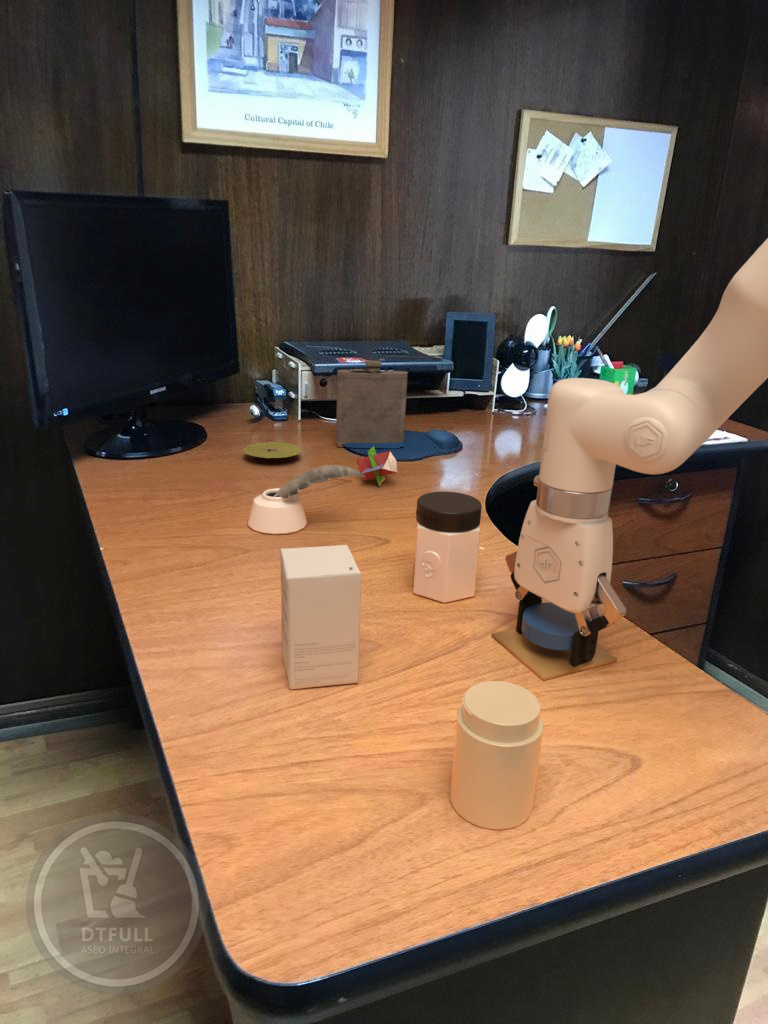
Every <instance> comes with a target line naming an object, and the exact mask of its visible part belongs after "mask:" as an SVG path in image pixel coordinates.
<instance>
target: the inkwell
mask: <svg viewBox="0 0 768 1024" xmlns="http://www.w3.org/2000/svg"><path fill="white" fill-rule="evenodd" d="M342 477H360V478H362V477H365V476H364V475H363V474H362V473H361V472H360V470H357V469H355V468H353V467H350V466H346V465H337V464H326V465H322V466H319V467H313V468H312V469H309V470H307V471H305V472H302V473H300V474H299V475H296V476H295V477H293V478H292V479H290V480H289V481H288V482H286V483H285V484H283V486H281V487H276V488H275V487H274V488H268V489H265V490H264V491H263V492H262V493H261V494H258V495H256V496H255V497H254V498H253V500H252V503H251V507H250V510H249V514H248V517H247V526H248V527H249V528H250V529H251V530H252V531H254V532H257V533H261V534H266V535H288V534H292V533H297V532H299V531H301V530H303V529H305V527H306V526H307V525H308V519H307V515H306V512H305V509H304V506H303V501H302V500H301V499H302V498H301V497H300V496H299V495H298V494H300V493H301V490H305V489H307V488H309V487H310V486H312V484H320V483H325V482H328V481H330V479H338V478H342Z"/></svg>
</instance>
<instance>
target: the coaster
mask: <svg viewBox="0 0 768 1024" xmlns="http://www.w3.org/2000/svg"><path fill="white" fill-rule="evenodd" d="M490 636H491V638H492V639H494V640H495V641H496V642H497V643H498V644H500V645H501V646H502V647H503V648H504V649H506V650H507V651H508V652H509V653H510V654H512V655H513V656H514V657H515V658H516V659H517V660H519V662H521V663H522V664H523V666H524V665H525V666H526V667H527V669H529V670H530V671H531V672H532V673H534V674H535V675H536V676H537V677H538V678H540V680H542V681H543V682H544V681H547V680H551V679H557V678H560V677H564V676H567V675H571V674H575V673H579V672H584V671H587V670H590V669H594V668H599V667H602V666H606V665H611V664H614V663H617V662H618V658H617V657H616V656H614V654H611V653H610V652H609V651H607V650H606V649H604V648H603V647H602V646H600V645H599V644H597V645H596V652H595V655H594V657H593V659H592V660H590V661H588V662H585V663H583V664H581V665H578V666H576V667H575V666H573V665H572V664H571V662H570V657H571V650H553V649H548V648H544V647H541V646H539V645H536V644H534V643H532V642H531V641H529V640H528V639H527V638H526V637H525V636H524V635H523V634H520V633H518V632H516V627H514V628H510V629H505V630H501V631H496V632H492V633H491V635H490Z"/></svg>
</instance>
